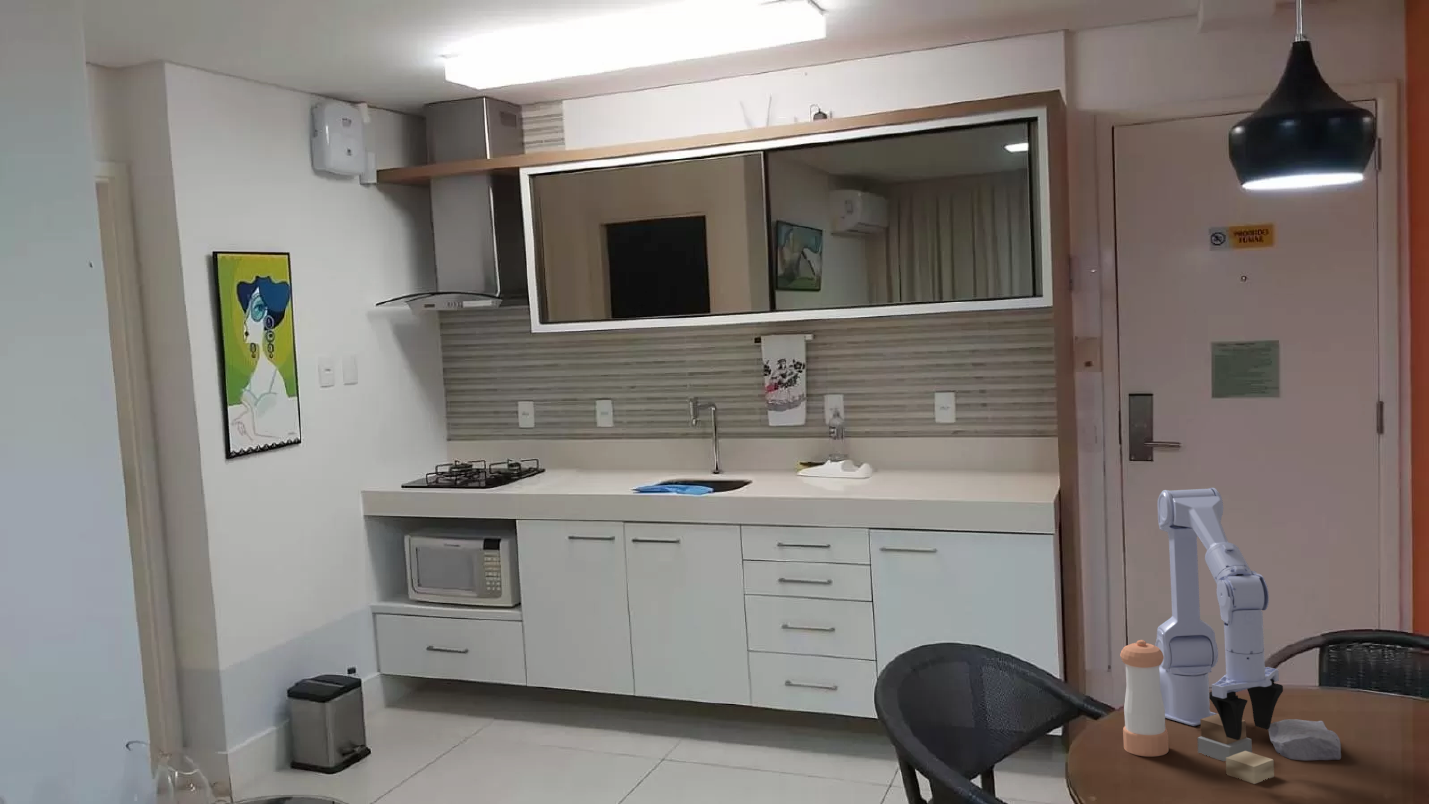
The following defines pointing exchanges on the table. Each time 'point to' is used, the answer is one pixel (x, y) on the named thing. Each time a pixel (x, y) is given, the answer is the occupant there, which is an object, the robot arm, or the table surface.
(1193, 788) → the table surface
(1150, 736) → the pepper shaker
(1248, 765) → the oak block
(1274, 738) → the stone block
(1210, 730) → the walnut block
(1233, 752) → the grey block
